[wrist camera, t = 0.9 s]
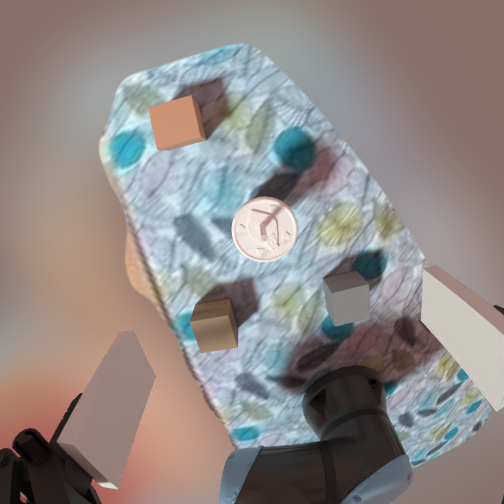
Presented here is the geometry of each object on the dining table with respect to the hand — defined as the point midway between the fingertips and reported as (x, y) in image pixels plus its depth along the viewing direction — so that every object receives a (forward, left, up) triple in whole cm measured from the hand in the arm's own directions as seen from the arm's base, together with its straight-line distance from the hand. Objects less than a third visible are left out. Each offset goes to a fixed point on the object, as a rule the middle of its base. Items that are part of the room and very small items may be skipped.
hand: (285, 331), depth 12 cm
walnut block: (-13, +9, -27) cm, 31 cm away
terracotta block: (+13, +7, -27) cm, 31 cm away
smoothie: (0, 0, -27) cm, 27 cm away
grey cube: (-13, -9, -27) cm, 31 cm away
